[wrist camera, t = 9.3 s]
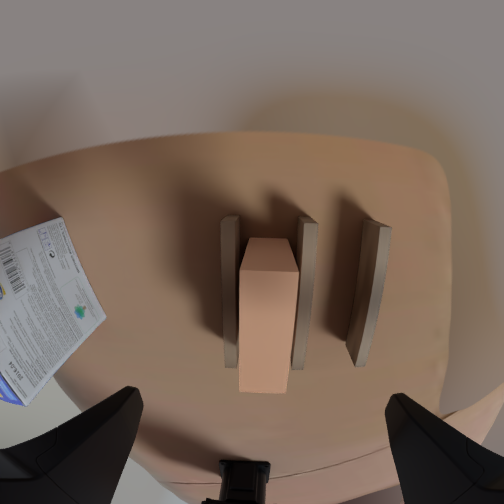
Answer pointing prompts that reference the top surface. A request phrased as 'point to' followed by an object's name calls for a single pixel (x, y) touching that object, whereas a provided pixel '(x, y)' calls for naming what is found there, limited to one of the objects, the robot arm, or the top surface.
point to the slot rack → (310, 288)
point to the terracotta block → (266, 315)
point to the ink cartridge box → (41, 308)
